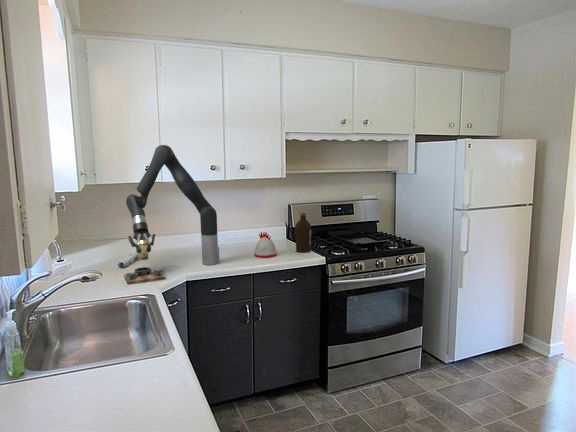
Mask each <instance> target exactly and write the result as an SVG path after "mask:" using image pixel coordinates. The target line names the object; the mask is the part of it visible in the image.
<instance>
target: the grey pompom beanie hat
mask: <svg viewBox="0 0 576 432" xmlns="http://www.w3.org/2000/svg"><path fill="white" fill-rule="evenodd" d="M258 236H259V238H260V239H259V240H258V241H257V243H256V245H255V248H254V251H253V252H254V257H255V258H258V259H271V258H275V257H277V249H276V246H275V244H274V241H272V239H271V237H272V236H271V235H270V234H269V233H268V232H267V231H266V232H265V231H263V232H262V231H261V232H260V233H259V234H258Z"/></svg>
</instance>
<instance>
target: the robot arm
mask: <svg viewBox="0 0 576 432" xmlns="http://www.w3.org/2000/svg"><path fill="white" fill-rule="evenodd" d="M164 166H165V167H166V168H167V170H168V171H169V172H170V174H171V177H172V179H173V180H174V182H175V185H176V186H177V187H178V189H179V190H180V192H182V194H184V196H185V197H186V198H187V199H188V200H189V201H190V202H191V203H192V205H193V206H194V207H195V208H196V210H197V212H198V213H199V215H200V217H199V219H200V220H199V221H200V238H201V259H202V260H201V261H202V265H204V266H213V265H218V264H220V263H221V262H220V261H221V260H220V247H219V243H218V242H219V241H218V215H217V211H216V209H215V207H213V206H212V205H211V203H210V202H208V200H207V198H205V196H204V195H203V193H202V191H201V189H200V188H199V186H198V184H197V183H196V181H195V179H194V178H193V177H192V176H191V175H190V173H189V172H188V171H187V170H186V169H185V167H184V166H183V165H182V164H181V162H180V161H179V159H178V158H177V156H176V154H175V152H174V151H173V149H172V148H171V147H170V146H169V145H167V144H160V145H158V146H157V147H155V149H154V153H153V156H152V159H151V161H150V163H149V165H148V168H147V169H146V171H145V172H144V175H143V176H142V177H141V179H140V182H139V183H138V185H137V187H136V191H137V192H138V193H140V196H139V195H136V194H132V193H131V194H129V195H128V196H127V197H126V200H125V204H126V206H127V209H128V210H129V213H130V216H131V224H132V225H131V226H132V231H133V235H128V242H129V244H130V245H131V247H132V248H135V250H136V251H137V252H138V253H140V248H139V240H141V239H147V240H148V254H149V253H151V251H152V246H154V243H155V238H156V234H155V233H153V234H151V233H150V232H149V226H148V221H147V218H146V212H145V210H144V208H145V207H146V206H147V204H148V203H147V202H148V198H149V194H150V192H151V190H152V189H153V187H154V185H155V183H156V181H157V177H159V174H160V172H161V170H162V168H163V167H164ZM149 238H150V239H151V241H150V239H149ZM134 240H136V243H135V241H134Z"/></svg>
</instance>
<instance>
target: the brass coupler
mask: <svg viewBox="0 0 576 432" xmlns="http://www.w3.org/2000/svg"><path fill="white" fill-rule="evenodd" d="M139 248H140V253H139V259H140V260H141V261H147V260H149V253H148V240H147V239H141V240H139ZM140 260H139V261H140Z"/></svg>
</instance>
